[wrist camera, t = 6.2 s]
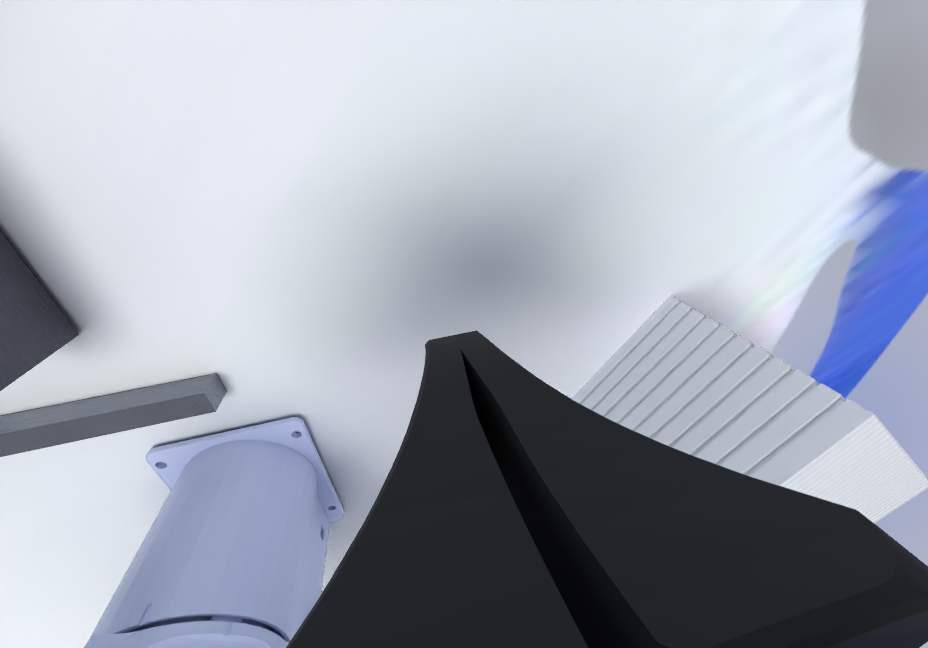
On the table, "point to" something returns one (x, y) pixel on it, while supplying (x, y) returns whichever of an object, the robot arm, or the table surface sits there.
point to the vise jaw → (26, 318)
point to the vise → (109, 414)
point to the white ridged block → (750, 413)
